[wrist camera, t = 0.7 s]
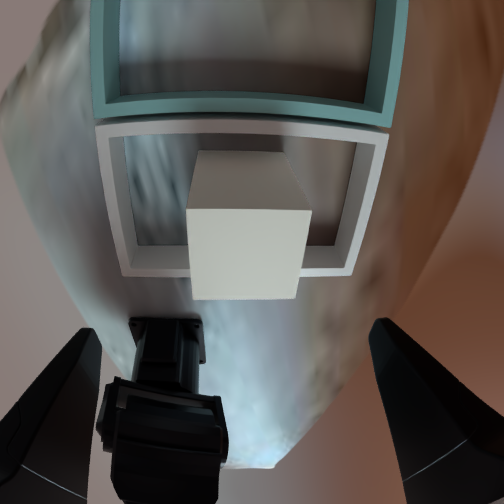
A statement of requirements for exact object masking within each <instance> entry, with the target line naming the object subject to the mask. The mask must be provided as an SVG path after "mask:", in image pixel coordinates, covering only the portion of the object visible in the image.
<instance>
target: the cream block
mask: <svg viewBox="0 0 504 504" xmlns="http://www.w3.org/2000/svg"><path fill="white" fill-rule="evenodd" d="M311 214H312V209H311V207H310V205H309V203H308V201H307V198H306V196H305V194H304V192H303V190H302V188H301V186H300V184H299V182H298V180H297V178H296V176H295V174H294V172H293V170H292V168H291V166H290V164H289V162H288V160H287V158H286V156H285V154H284V152H265V151H224V150H199V151H198V156H197V160H196V164H195V169H194V173H193V178H192V182H191V187H190V192H189V196H188V201H187V206H186V219H187V234H188V248H189V261H190V273H191V284H192V295H193V300H261V299H295V296H296V291H297V286H298V282H299V277H300V272H301V267H302V262H303V257H304V252H305V247H306V241H307V236H308V231H309V225H310V220H311Z"/></svg>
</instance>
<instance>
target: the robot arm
mask: <svg viewBox="0 0 504 504" xmlns="http://www.w3.org/2000/svg"><path fill="white" fill-rule="evenodd" d="M128 324H129V327H130V330H131V333H132V336H133V339H134V342H135V345H136V347H137V349H136V355H135V360H134V366H133V372H132V378H131V381H129V380H124V379H121V377H117V376H115V377H114V382H113V383H110V384H106V386H105V392H104V396H103V401H102V405H101V408H100V412H99V415H98V419H97V422H96V431H97V432H98V433H99V435H100V436H101V442H103V451H105V452H109V453H112V464H111V475H110V477H111V481H112V483H113V486H114V489H115V491H116V493H117V495H118V497H119V499H120V500H123V502H124V504H215V503H216V501H217V500H218V484H219V471H220V468H222V467H223V466H224V465H225V463H226V460H227V456H228V448H229V438H228V431H227V427H226V422H225V417H224V412H223V406H222V401H221V397H220V396H215V395H214V396H207V395H201V394H199V364H204V363H206V355H205V345H204V334H203V323H202V321H201V320H199V319H165V318H134V317H133V318H130V319H129V323H128ZM196 324H197V325H196ZM368 339H369V345H370V350H371V356H372V360H373V366H374V372H375V376H376V381H377V384H378V388H379V392H380V395H381V399H382V402H383V406H384V409H385V413H386V417H387V420H388V424H389V428H390V432H391V435H392V439H393V443H394V447H395V451H396V455H397V460H398V463H399V468H400V473H401V477H402V481H403V486H404V492H405V496H406V501H407V504H504V417H503V416H501V415H500V414H499V413H498V412H496V411H495V410H494V409H492V408H491V407H490V406H489V405H487V404H486V403H485V402H483V401H482V400H481V399H480V398H479V397H477V396H476V395H475V394H474V393H473V392H472V391H470V390H469V389H468V388H467V387H466V386H465V385H464V384H463V383H461V382H459V380H458V379H457V378H456V377H455V376H454V375H453V374H452V373H451V372H449V371H448V370H447V369H446V368H445V367H444V366H443V365H442V364H441V363H439V362H438V361H437V360H436V359H435V358H434V357H433V356H432V355H430V354H429V353H428V352H427V351H426V350H425V349H424V348H423V347H421V346H420V345H419V344H418V343H417V342H416V341H414V340H413V339H412V338H411V337H410V336H409V335H408V334H406V333H405V332H404V331H403V330H402V329H401V328H400V327H399V326H397V325H396V324H395V323H394V322H393V321H392V320H390V319H389V318H387V317H385V318H378V319H376V320H375V322H374V324H373V326H372V329H371V331H370V333H369V338H368ZM101 356H102V345H101V343H100V340H99V338H98V336H97V334H96V332H95V330H94V329H93V328H81V329H80V330H79V331H78V332H77V333H76V334H75V335H74V336H73V337H72V338H71V339H70V340H69V342H68V343H67V344H66V345H65V346H64V347H63V348H62V349H61V350H60V352H59V353H58V354H57V355H56V356H55V357H54V358H53V360H52V361H51V362H50V363H49V364H48V365H47V366H46V368H45V369H44V370H43V371H42V372H41V373H40V375H39V376H38V377H37V378H36V379H35V380H34V381H33V383H32V384H31V385H30V386H29V387H28V389H27V390H26V391H25V392H24V393H23V395H22V396H21V397H20V399H19V400H18V401H17V402H16V403H15V404H14V406H13V407H12V408H11V409H10V410H9V412H8V413H7V414H6V415H5V416H4V418H3V419H2V420H1V421H0V504H87V491H88V490H87V489H88V476H89V464H90V454H91V444H92V436H93V428H94V421H95V414H96V407H97V401H98V394H99V382H100V368H101ZM121 407H122V408H121ZM125 408H126V409H125Z"/></svg>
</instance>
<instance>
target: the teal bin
mask: <svg viewBox="0 0 504 504" xmlns="http://www.w3.org/2000/svg"><path fill="white" fill-rule="evenodd" d="M408 2H409V0H376V10H375V21H374V31H373V40H372V49H371V57H370V64H369V72H368V79H367V86H366V93H365V99H364V104H362V103H356V102H349V101H343V100H336V99H329V98H321V97H313V96H303V95H293V94H281V93H267V92H247V91H179V92H159V93H145V94H134V95H124V96H120V76H119V15H120V0H91V9H90V67H91V87H92V102H93V113H94V119H98V118H106V117H116V116H126V115H138V114H153V113H172V112H252V113H272V114H287V115H300V116H310V117H320V118H329V119H337V120H345V121H352V122H359V123H365V124H372V125H378V126H383V127H389V128H391V124H392V119H393V113H394V108H395V103H396V97H397V91H398V85H399V79H400V72H401V66H402V59H403V51H404V43H405V34H406V25H407V14H408Z"/></svg>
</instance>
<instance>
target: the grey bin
mask: <svg viewBox="0 0 504 504" xmlns="http://www.w3.org/2000/svg"><path fill="white" fill-rule="evenodd" d="M95 133H96V142H97V149H98V157H99V164H100V171H101V177H102V183H103V189H104V195H105V200H106V206H107V211H108V216H109V221H110V226H111V231H112V235H113V240H114V244H115V248H116V253H117V257H118V261H119V265H120V269H121V273H122V277H191V273H190V261H189V248H188V245H167V246H138V242H137V237H136V231H135V225H134V219H133V212H132V206H131V199H130V192H129V184H128V177H127V168H126V160H125V150H124V140H123V136H137V135H154V134H179V133H245V134H270V135H288V136H302V137H314V138H325V139H335V140H344V141H352V142H357V145H356V150H355V155H354V161H353V166H352V170H351V175H350V180H349V185H348V189H347V194H346V198H345V203H344V207H343V212H342V216H341V220H340V224H339V228H338V233H337V237H336V241H335V245H334V246H306V247H305V252H304V257H303V262H302V267H301V272H300V277H312V276H351V274H352V271H353V268H354V265H355V262H356V259H357V256H358V253H359V249H360V246H361V243H362V239H363V236H364V233H365V229H366V226H367V222H368V219H369V215H370V212H371V208H372V204H373V201H374V197H375V193H376V189H377V185H378V181H379V177H380V173H381V169H382V165H383V161H384V156H385V152H386V147H387V143H388V138H389V134H388V133H386V132H385V131H383V130H382V129H380V128H379V127H377V126H376V125H372V124H365V123H359V122H352V121H345V120H337V119H329V118H320V117H310V116H300V115H287V114H272V113H252V112H172V113H153V114H138V115H126V116H116V117H107V118H105V119H104V120H103V121H101V122H100V123H99V124H97V125H96V126H95Z"/></svg>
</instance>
